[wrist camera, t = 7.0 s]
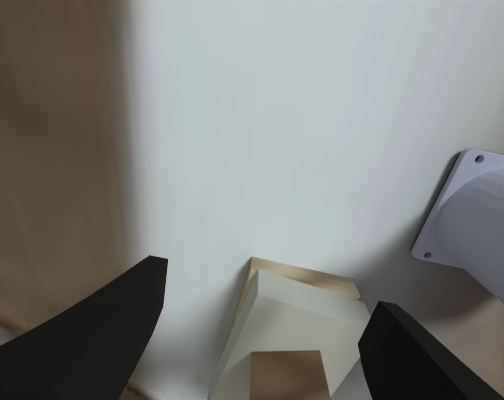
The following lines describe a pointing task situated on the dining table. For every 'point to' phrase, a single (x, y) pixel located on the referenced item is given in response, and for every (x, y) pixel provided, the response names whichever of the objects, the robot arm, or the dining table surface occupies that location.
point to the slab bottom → (297, 279)
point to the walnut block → (288, 376)
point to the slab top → (289, 332)
